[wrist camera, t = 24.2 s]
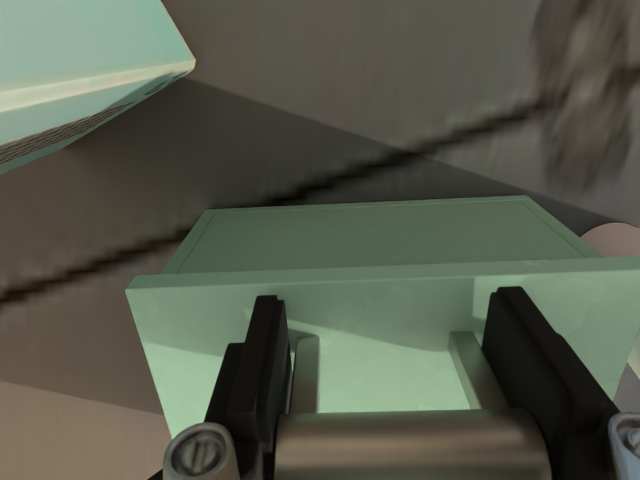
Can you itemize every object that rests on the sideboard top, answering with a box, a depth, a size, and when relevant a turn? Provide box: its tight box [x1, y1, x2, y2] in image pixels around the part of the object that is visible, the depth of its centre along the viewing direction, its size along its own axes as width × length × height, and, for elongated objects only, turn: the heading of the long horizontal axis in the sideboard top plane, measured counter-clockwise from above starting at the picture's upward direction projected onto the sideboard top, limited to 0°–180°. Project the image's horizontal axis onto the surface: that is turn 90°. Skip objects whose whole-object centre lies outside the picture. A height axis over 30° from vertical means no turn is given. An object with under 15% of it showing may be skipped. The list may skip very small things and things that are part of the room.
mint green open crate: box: [160, 195, 603, 274], centre depth 19 cm, size 15×15×7 cm
